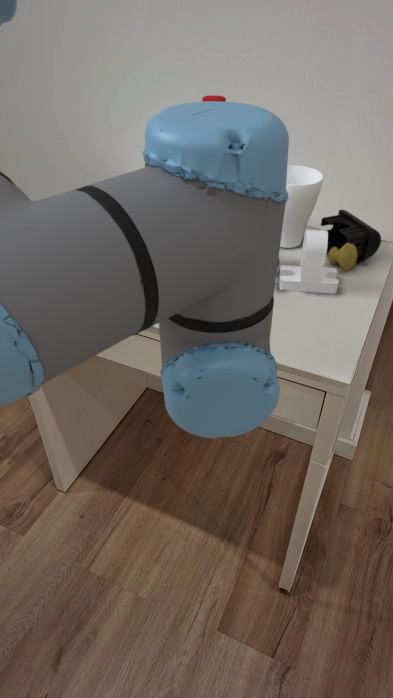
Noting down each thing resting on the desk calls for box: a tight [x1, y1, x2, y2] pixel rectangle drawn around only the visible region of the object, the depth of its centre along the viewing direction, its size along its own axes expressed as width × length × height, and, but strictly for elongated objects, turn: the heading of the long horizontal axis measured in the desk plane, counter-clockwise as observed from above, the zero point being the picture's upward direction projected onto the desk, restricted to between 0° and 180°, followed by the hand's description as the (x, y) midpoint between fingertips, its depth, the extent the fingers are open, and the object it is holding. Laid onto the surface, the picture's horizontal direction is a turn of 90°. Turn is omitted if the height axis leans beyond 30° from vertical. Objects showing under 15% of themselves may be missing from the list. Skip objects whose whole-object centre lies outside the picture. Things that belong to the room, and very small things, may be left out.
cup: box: [280, 164, 324, 249], centre depth 93 cm, size 10×10×14 cm
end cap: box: [320, 209, 382, 265], centre depth 91 cm, size 10×7×7 cm
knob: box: [328, 243, 357, 272], centre depth 88 cm, size 5×5×5 cm
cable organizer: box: [278, 229, 340, 295], centre depth 82 cm, size 5×10×10 cm, turn 82°
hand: (185, 185), depth 58 cm, fingers open, 13 cm apart
